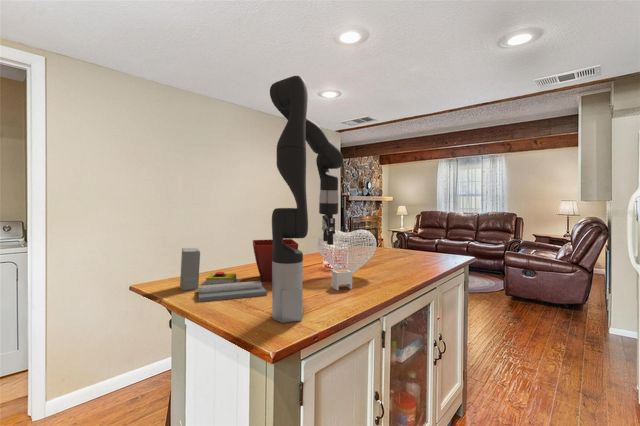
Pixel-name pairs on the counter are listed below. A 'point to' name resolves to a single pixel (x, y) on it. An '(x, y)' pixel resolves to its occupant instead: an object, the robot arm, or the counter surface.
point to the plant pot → (267, 256)
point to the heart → (368, 256)
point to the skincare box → (190, 269)
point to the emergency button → (221, 278)
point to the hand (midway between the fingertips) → (327, 242)
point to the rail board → (231, 294)
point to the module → (341, 278)
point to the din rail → (230, 287)
